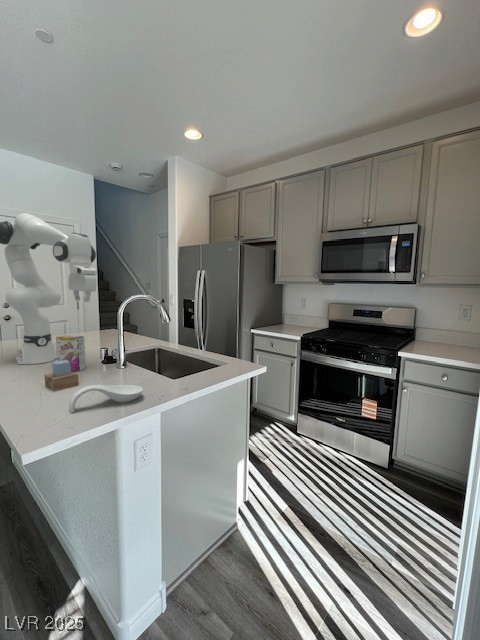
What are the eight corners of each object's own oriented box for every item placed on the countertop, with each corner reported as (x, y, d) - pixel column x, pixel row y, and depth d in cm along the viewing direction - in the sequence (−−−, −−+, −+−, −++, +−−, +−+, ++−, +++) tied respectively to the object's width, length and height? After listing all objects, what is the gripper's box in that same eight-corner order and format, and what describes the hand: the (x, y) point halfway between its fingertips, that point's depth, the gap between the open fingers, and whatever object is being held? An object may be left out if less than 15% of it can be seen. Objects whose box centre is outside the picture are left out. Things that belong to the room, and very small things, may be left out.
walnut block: (45, 386, 118) (44, 374, 118) (69, 381, 125) (68, 369, 125) (54, 392, 113) (53, 379, 112) (78, 385, 120) (78, 373, 119)
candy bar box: (57, 370, 139) (55, 336, 137) (64, 367, 144) (62, 334, 142) (79, 371, 138) (77, 337, 136) (86, 368, 143) (84, 335, 141)
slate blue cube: (52, 374, 119) (52, 362, 118) (66, 371, 122) (65, 359, 122) (56, 376, 115) (56, 364, 115) (70, 374, 119) (70, 362, 118)
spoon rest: (136, 391, 114) (136, 373, 114) (148, 400, 105) (147, 381, 104) (67, 406, 100) (65, 386, 99) (73, 419, 91) (71, 396, 90)
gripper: (63, 269, 136) (65, 299, 137) (83, 269, 123) (85, 302, 125) (78, 270, 141) (79, 299, 142) (98, 270, 128) (99, 302, 130)
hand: (82, 301), depth 133 cm, fingers open, 8 cm apart
